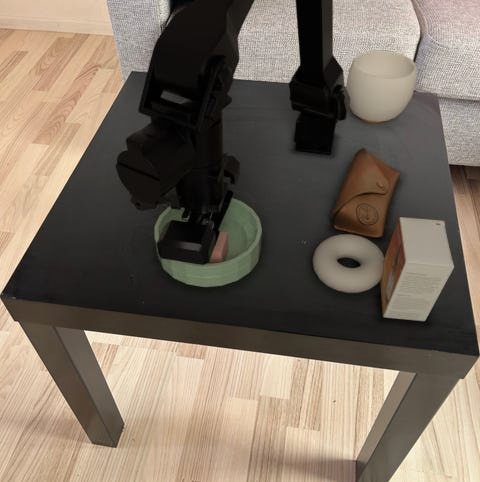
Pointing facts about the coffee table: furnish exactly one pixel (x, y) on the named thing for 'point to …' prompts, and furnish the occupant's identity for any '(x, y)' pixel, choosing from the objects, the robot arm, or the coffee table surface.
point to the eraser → (220, 249)
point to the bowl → (239, 248)
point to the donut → (343, 276)
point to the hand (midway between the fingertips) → (205, 252)
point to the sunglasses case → (365, 196)
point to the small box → (415, 268)
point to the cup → (380, 85)
